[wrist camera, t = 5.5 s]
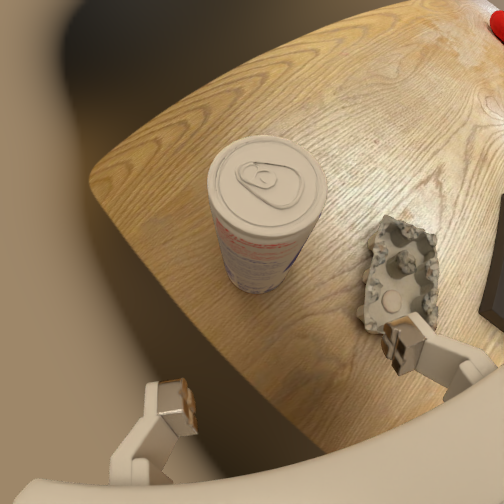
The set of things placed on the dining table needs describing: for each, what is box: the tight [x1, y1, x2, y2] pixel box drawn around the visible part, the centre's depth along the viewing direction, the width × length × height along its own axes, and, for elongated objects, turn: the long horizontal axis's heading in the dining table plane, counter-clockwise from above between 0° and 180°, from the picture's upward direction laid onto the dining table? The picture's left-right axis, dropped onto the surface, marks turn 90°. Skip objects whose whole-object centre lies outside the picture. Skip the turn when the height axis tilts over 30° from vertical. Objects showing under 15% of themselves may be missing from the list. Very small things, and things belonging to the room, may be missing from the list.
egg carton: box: [357, 215, 439, 334], centre depth 26 cm, size 11×8×4 cm
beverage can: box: [207, 135, 328, 294], centre depth 21 cm, size 6×6×15 cm
